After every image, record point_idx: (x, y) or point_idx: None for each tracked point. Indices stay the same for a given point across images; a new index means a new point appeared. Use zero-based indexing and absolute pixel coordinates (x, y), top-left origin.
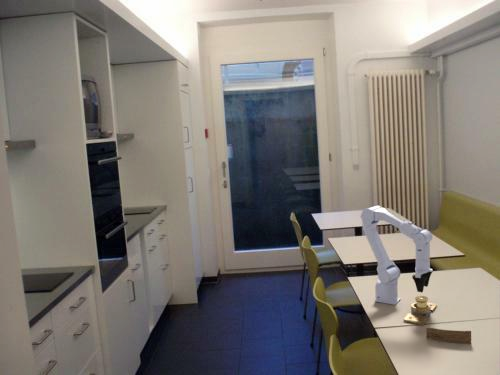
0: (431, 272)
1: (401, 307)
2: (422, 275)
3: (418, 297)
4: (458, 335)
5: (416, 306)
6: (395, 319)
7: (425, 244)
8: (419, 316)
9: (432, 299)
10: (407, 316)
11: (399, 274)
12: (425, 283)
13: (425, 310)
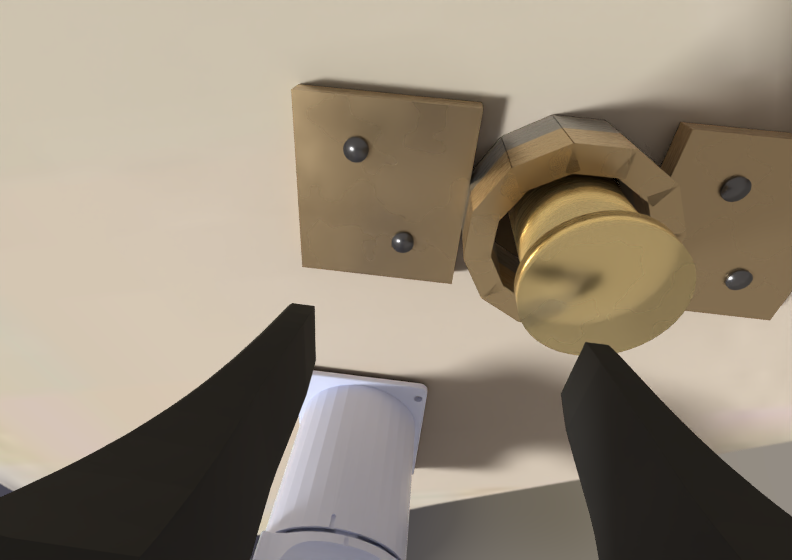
0: (146, 555)
1: (453, 347)
2: (247, 533)
3: (583, 328)
4: None
5: (504, 271)
6: (708, 356)
7: None
8: (695, 211)
9: (147, 152)
10: (700, 301)
11: None
12: (299, 363)
13: (675, 182)
